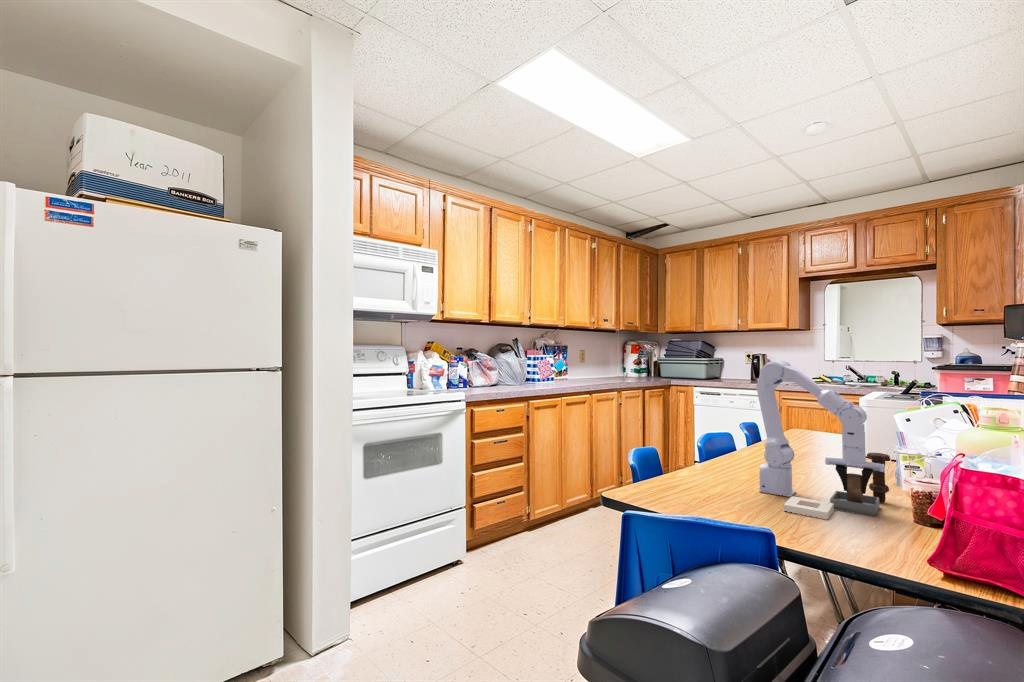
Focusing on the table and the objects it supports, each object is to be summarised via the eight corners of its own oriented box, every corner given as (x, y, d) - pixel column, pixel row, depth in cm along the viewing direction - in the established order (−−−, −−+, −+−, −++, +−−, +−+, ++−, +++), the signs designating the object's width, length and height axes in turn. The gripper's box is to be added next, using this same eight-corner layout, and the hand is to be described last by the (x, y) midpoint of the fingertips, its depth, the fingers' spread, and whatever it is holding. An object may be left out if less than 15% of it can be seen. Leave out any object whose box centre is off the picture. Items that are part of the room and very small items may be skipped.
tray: (830, 508, 145) (830, 498, 145) (836, 500, 153) (835, 490, 153) (875, 516, 138) (875, 506, 138) (879, 507, 146) (879, 497, 146)
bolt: (893, 505, 148) (892, 456, 148) (875, 504, 149) (874, 455, 149) (883, 499, 153) (882, 452, 154) (865, 498, 154) (864, 452, 155)
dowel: (845, 501, 145) (845, 475, 145) (848, 498, 148) (847, 472, 148) (861, 504, 142) (861, 477, 143) (864, 501, 145) (863, 475, 146)
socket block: (783, 511, 143) (783, 504, 143) (792, 502, 151) (791, 496, 151) (827, 519, 135) (827, 512, 135) (833, 510, 144) (833, 503, 144)
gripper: (823, 445, 148) (824, 490, 147) (882, 451, 138) (883, 499, 138) (827, 442, 153) (828, 485, 153) (884, 448, 143) (885, 494, 143)
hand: (854, 491), depth 146 cm, fingers closed on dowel, 4 cm apart
